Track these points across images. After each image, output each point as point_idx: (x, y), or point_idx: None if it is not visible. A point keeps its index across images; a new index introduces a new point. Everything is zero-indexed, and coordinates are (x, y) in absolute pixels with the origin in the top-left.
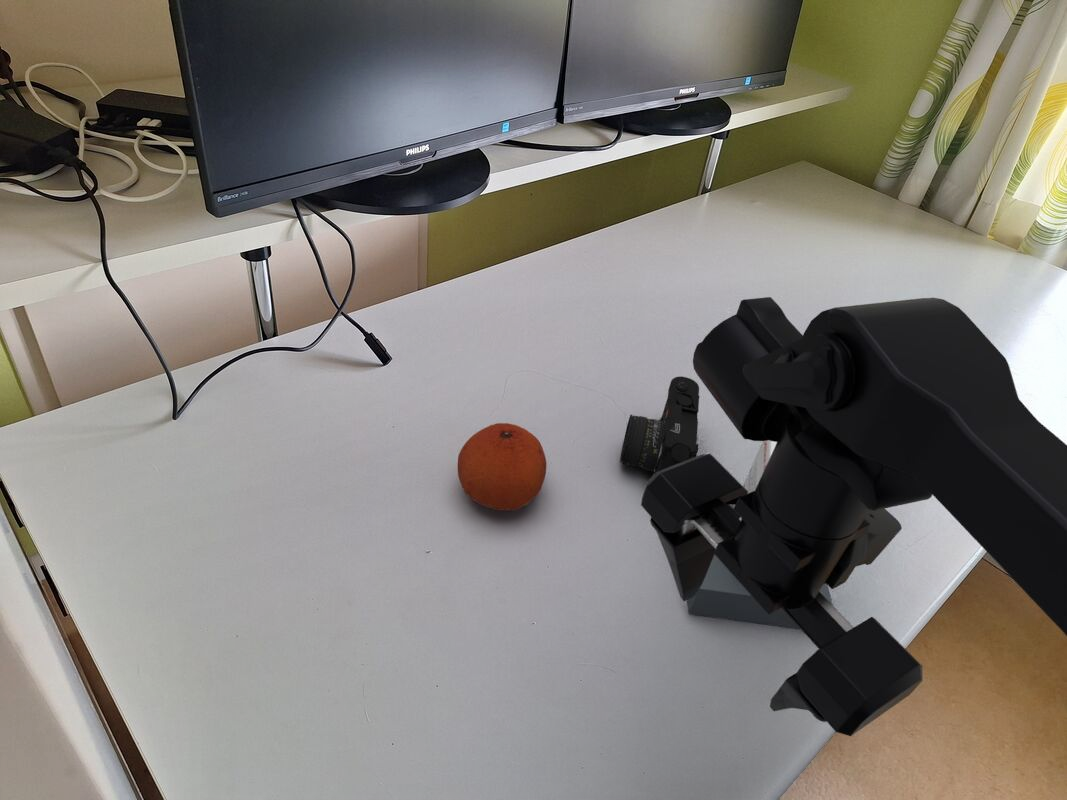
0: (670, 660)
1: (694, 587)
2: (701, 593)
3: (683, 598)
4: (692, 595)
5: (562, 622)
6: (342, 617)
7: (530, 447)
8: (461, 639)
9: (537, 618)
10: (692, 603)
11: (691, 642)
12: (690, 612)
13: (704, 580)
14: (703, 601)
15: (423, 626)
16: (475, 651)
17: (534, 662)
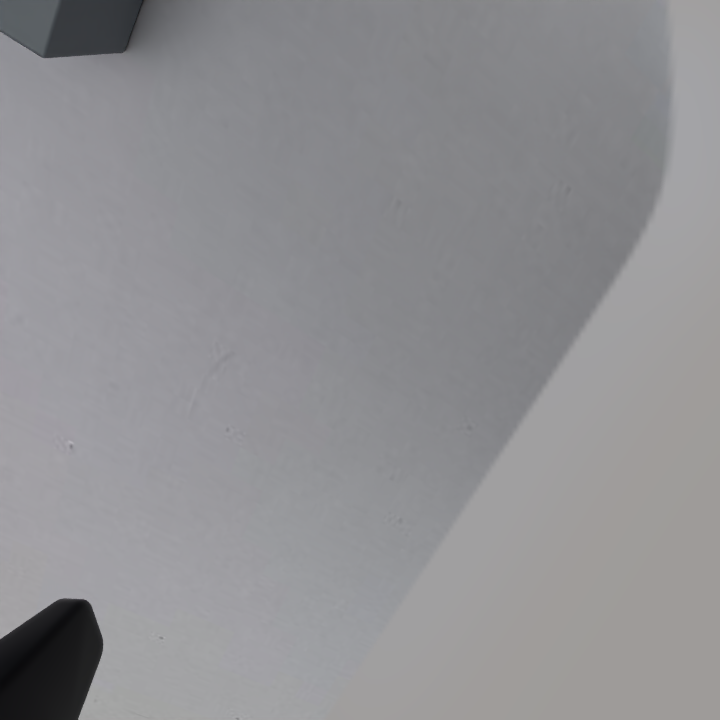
0: (247, 204)
1: (40, 710)
2: (64, 44)
3: (89, 686)
4: (81, 632)
5: (81, 392)
6: None
7: None
8: (81, 572)
9: (61, 433)
10: (93, 53)
11: (215, 106)
12: (121, 48)
13: (12, 12)
14: (94, 25)
15: (42, 609)
16: (111, 563)
17: (161, 488)
